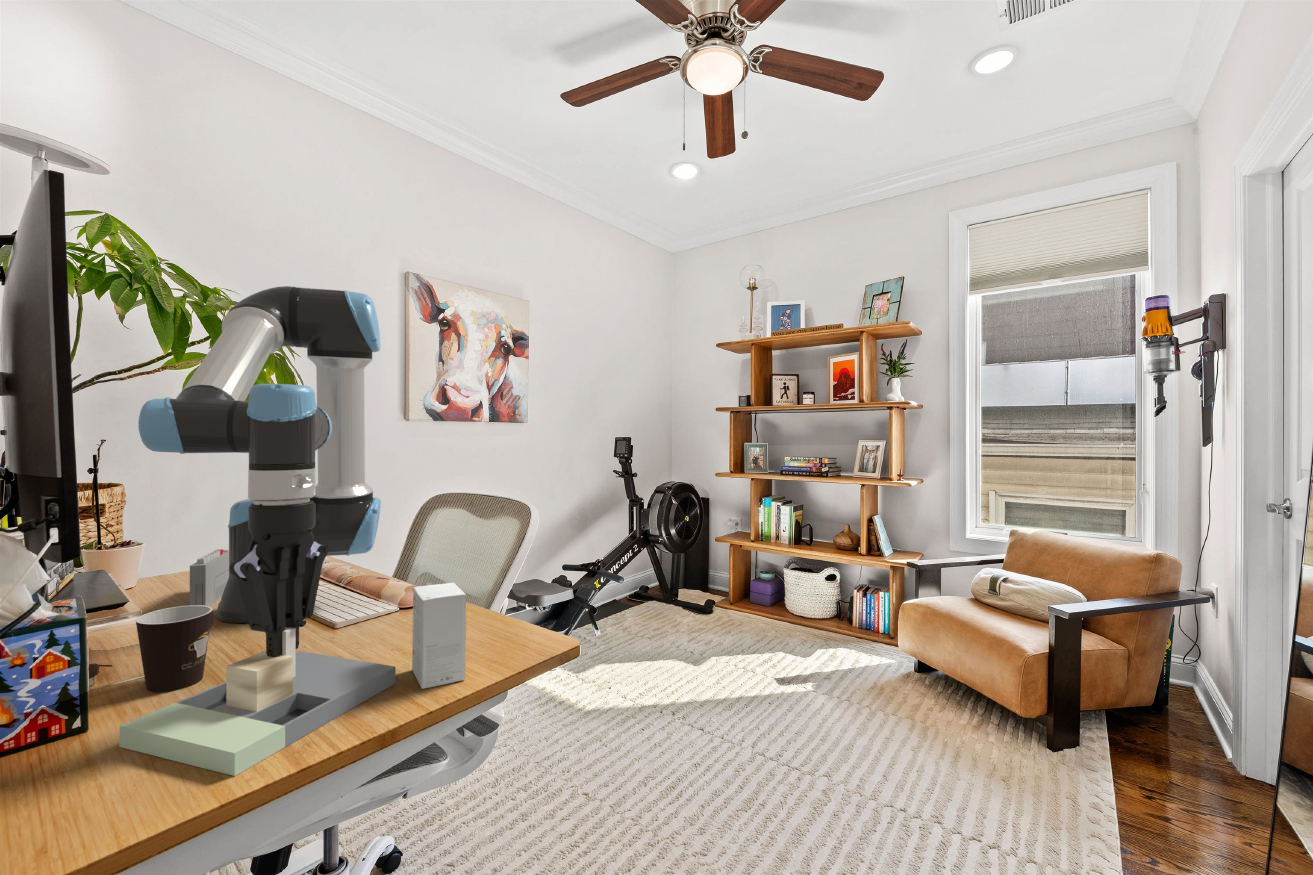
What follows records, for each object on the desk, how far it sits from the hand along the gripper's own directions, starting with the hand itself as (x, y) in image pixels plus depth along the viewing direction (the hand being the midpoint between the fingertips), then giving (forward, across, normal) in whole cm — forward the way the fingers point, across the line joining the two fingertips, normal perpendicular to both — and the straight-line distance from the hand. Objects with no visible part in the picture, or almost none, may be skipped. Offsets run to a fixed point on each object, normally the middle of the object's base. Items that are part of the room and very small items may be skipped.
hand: (282, 677), depth 78 cm
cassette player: (+4, +33, +57) cm, 66 cm away
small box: (+5, +15, -13) cm, 20 cm away
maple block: (+2, -3, 0) cm, 4 cm away
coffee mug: (+4, +2, +21) cm, 22 cm away
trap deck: (+4, -1, 0) cm, 4 cm away
